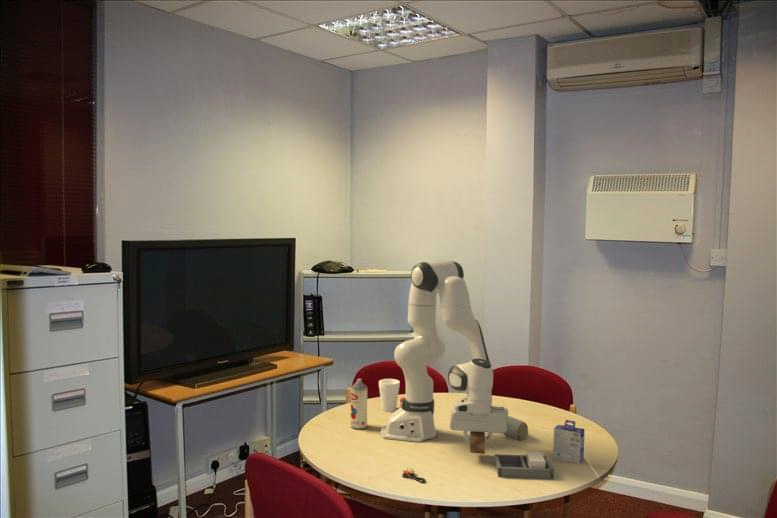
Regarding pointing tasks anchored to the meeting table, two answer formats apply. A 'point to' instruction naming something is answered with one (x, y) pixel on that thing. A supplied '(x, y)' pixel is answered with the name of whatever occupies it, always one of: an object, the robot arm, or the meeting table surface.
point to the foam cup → (389, 394)
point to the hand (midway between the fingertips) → (477, 443)
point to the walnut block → (477, 442)
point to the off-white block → (535, 460)
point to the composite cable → (412, 475)
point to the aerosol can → (359, 405)
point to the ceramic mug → (516, 428)
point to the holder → (520, 467)
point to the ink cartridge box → (568, 443)
